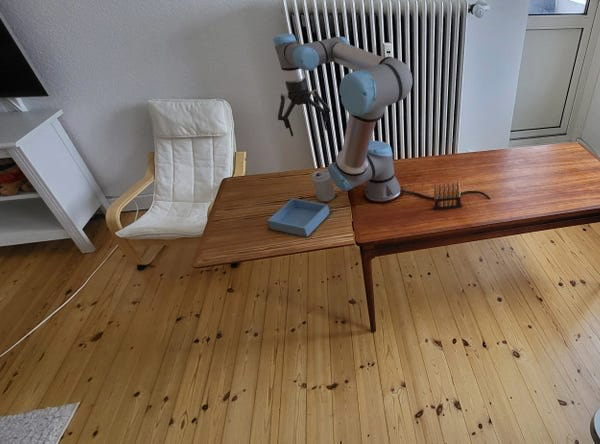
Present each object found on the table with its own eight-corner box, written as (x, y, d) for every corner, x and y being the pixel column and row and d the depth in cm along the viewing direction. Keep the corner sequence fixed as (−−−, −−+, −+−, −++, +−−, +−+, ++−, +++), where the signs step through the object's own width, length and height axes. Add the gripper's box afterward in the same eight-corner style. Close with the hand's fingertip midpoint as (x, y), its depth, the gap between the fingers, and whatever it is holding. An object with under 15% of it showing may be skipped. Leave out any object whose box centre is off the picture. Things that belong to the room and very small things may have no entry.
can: (319, 193, 162) (312, 169, 155) (336, 192, 163) (331, 168, 155) (316, 203, 156) (309, 178, 149) (334, 202, 157) (328, 177, 149)
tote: (330, 212, 151) (327, 204, 148) (307, 236, 139) (304, 228, 137) (295, 206, 155) (292, 198, 152) (270, 228, 143) (267, 220, 141)
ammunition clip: (460, 204, 153) (460, 179, 146) (460, 207, 152) (461, 182, 144) (434, 207, 152) (433, 182, 145) (435, 209, 151) (433, 184, 143)
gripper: (327, 72, 147) (338, 123, 160) (260, 81, 140) (277, 133, 153) (330, 77, 141) (341, 130, 154) (260, 87, 134) (277, 141, 147)
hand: (309, 132), depth 154 cm, fingers open, 13 cm apart
